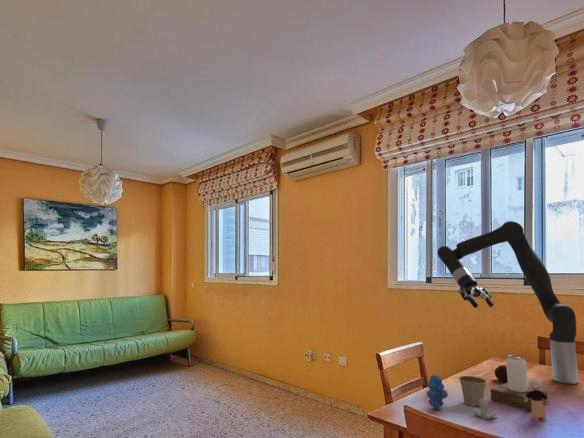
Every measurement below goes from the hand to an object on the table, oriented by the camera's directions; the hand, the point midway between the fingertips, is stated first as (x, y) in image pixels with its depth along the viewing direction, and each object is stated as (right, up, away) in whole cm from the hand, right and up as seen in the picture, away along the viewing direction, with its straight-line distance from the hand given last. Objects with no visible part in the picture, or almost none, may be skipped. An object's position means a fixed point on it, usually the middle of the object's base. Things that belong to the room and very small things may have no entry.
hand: (484, 306), depth 169 cm
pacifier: (-20, -28, -40) cm, 53 cm away
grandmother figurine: (-4, -28, -42) cm, 51 cm away
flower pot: (-18, -30, -28) cm, 45 cm away
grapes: (-33, -29, -35) cm, 56 cm away
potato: (+8, -33, -1) cm, 34 cm away
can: (0, -26, -25) cm, 36 cm away
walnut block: (0, -30, -26) cm, 39 cm away
